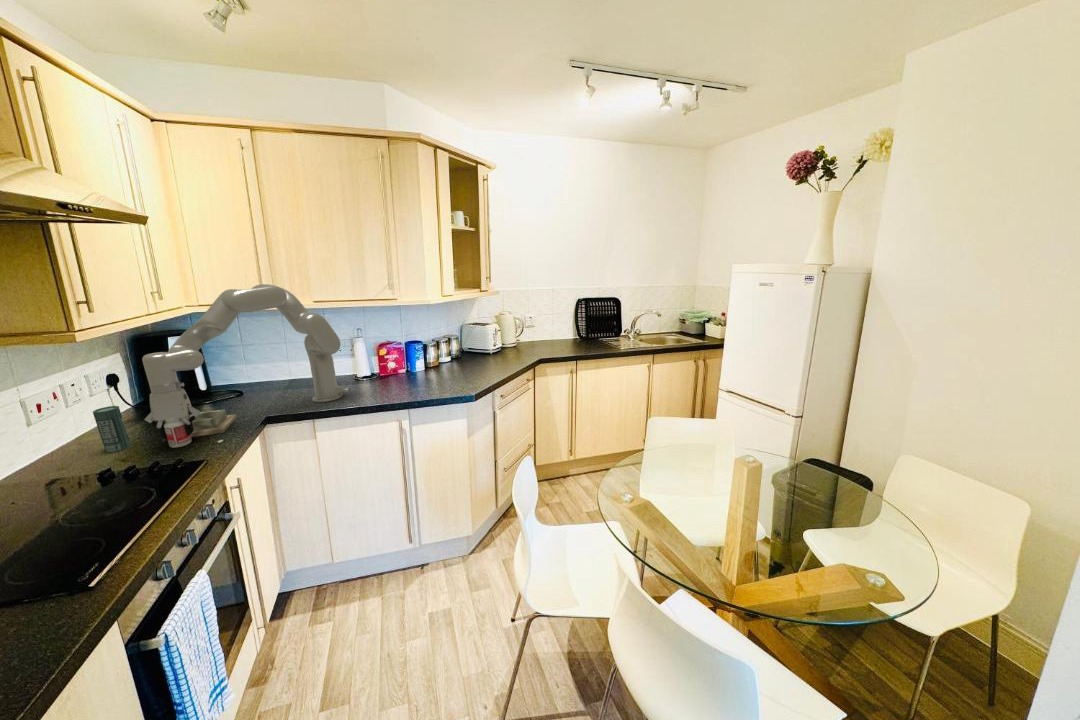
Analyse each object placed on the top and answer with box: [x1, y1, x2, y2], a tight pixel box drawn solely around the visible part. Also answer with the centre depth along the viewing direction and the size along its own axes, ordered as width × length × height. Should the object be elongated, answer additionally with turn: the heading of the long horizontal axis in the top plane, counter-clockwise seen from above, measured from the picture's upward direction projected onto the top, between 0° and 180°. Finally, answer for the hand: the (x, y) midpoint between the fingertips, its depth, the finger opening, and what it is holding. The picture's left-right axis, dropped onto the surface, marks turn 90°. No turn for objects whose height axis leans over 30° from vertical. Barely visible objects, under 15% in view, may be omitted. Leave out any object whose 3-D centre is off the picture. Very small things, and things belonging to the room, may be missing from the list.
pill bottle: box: [164, 418, 192, 449], centre depth 146 cm, size 6×6×11 cm
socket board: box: [189, 408, 238, 438], centre depth 160 cm, size 16×16×5 cm
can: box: [92, 405, 132, 454], centre depth 143 cm, size 6×6×15 cm
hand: (178, 434), depth 146 cm, fingers closed on pill bottle, 6 cm apart
